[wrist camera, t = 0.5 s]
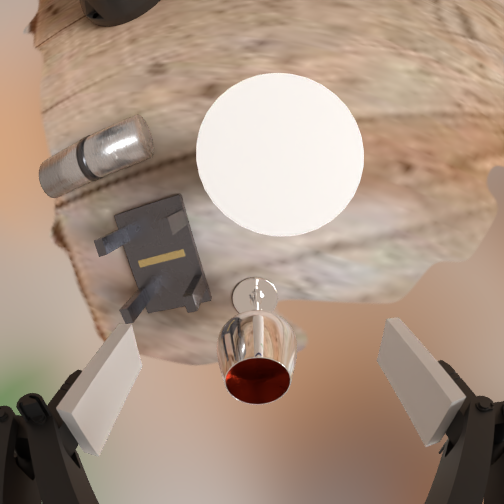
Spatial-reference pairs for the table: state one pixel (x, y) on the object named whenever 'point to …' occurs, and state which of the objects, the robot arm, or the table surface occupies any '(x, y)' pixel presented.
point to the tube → (97, 156)
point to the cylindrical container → (280, 154)
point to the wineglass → (256, 346)
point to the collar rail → (159, 258)
